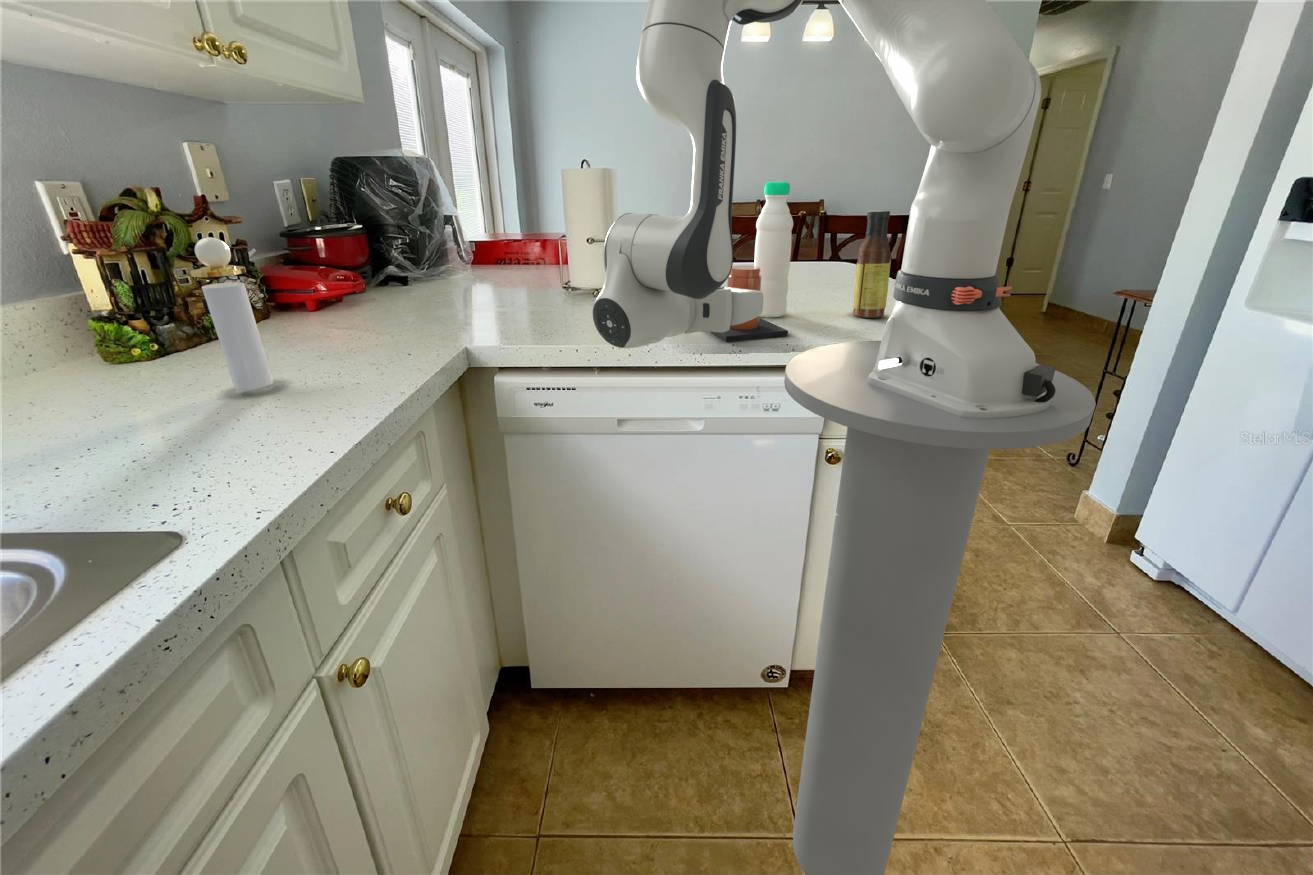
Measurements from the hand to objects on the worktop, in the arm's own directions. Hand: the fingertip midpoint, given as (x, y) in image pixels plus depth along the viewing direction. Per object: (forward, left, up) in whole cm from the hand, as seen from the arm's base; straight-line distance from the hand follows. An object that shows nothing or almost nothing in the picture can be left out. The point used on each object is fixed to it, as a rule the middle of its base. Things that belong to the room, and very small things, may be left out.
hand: (727, 291), depth 100 cm
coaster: (+3, -5, -8) cm, 10 cm away
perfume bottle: (-4, +72, -8) cm, 73 cm away
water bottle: (+14, -16, -8) cm, 23 cm away
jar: (+3, -5, -7) cm, 9 cm away
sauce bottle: (+6, -34, -8) cm, 35 cm away
